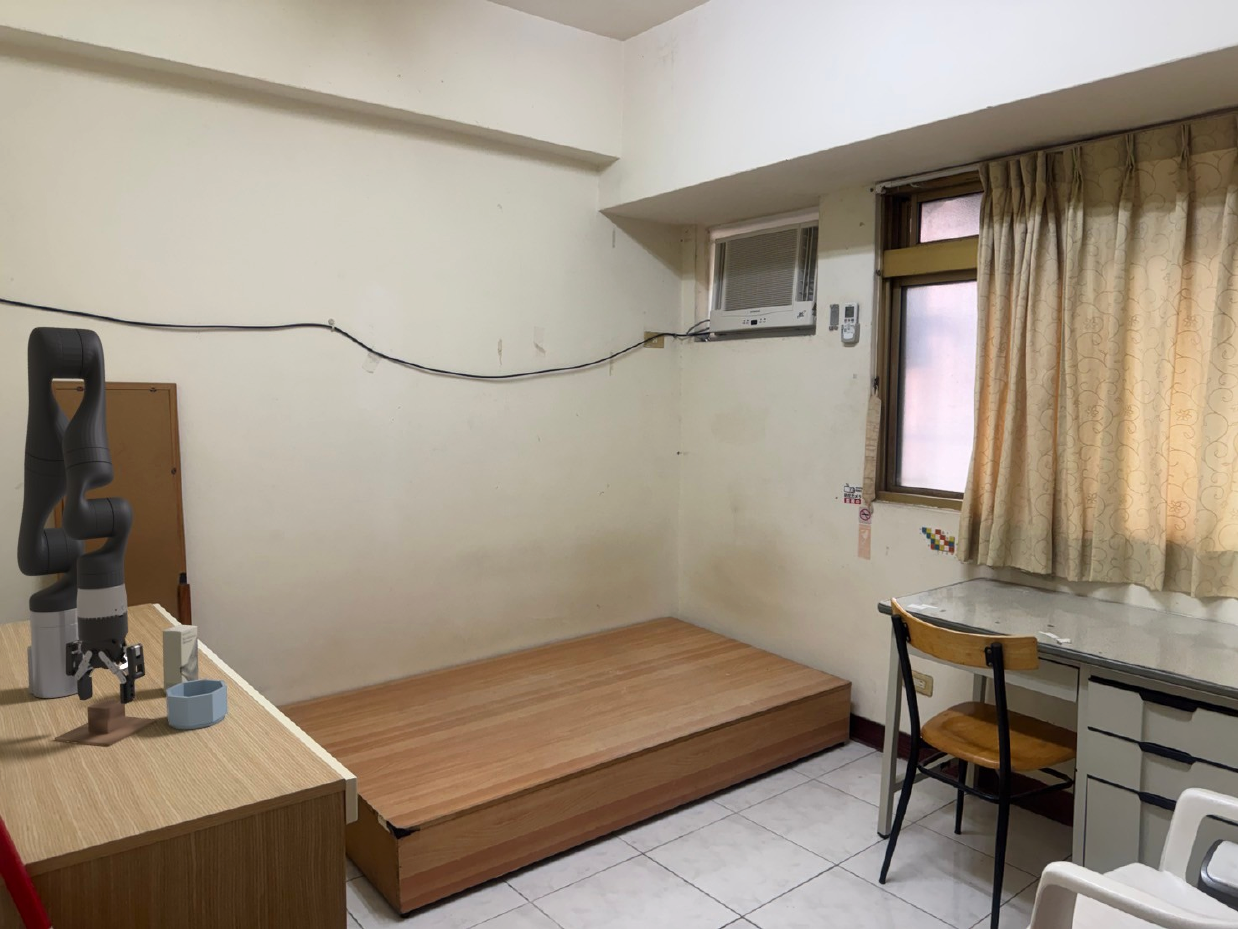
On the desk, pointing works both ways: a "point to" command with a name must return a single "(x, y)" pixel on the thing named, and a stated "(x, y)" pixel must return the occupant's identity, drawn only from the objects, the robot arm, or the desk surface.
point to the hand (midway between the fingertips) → (106, 700)
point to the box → (180, 655)
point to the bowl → (196, 704)
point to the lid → (106, 725)
